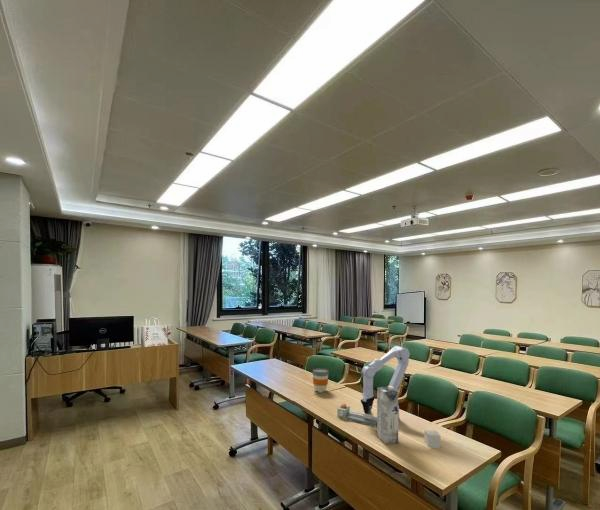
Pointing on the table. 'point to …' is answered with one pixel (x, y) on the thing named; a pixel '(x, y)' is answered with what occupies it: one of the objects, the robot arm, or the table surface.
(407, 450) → the table surface
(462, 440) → the table surface
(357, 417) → the rail board
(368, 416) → the carriage
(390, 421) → the juice carton
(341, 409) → the end cabinet
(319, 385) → the reusable coffee cup
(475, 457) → the table surface
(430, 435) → the light grey cube
